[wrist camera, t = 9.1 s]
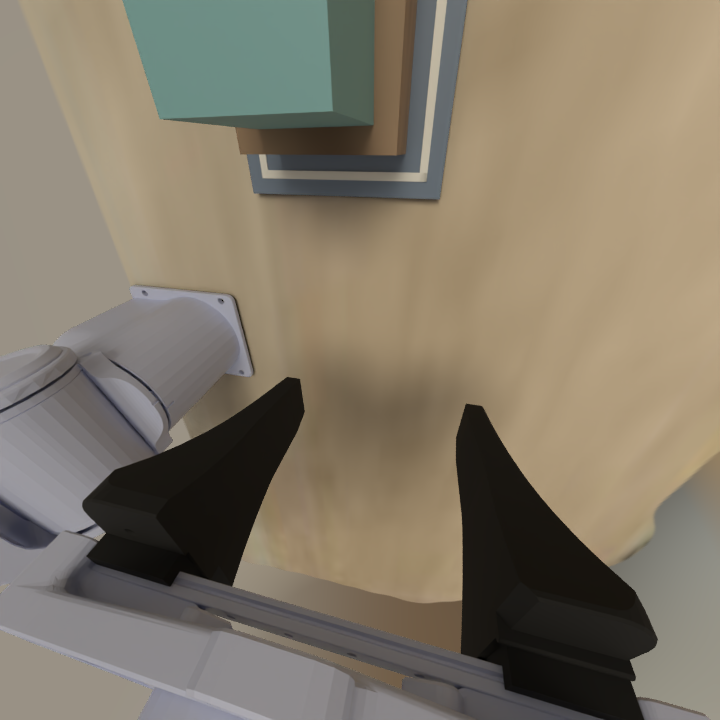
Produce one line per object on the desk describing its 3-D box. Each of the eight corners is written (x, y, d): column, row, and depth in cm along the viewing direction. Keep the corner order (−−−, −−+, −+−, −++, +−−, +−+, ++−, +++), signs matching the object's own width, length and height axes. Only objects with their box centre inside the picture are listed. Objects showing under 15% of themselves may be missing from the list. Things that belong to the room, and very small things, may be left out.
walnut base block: (279, 153, 16) (240, 154, 13) (253, -51, 12) (188, -120, 9) (405, 154, 15) (396, 155, 12) (422, -73, 11) (415, -161, 8)
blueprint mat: (258, 192, 18) (253, 193, 18) (205, -117, 12) (194, -130, 12) (439, 197, 17) (439, 199, 16) (490, -167, 10) (493, -186, 10)
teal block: (257, 129, 13) (160, 118, 8) (224, -64, 10) (47, -238, 5) (373, 125, 12) (332, 111, 7) (375, -90, 9) (309, -327, 4)
